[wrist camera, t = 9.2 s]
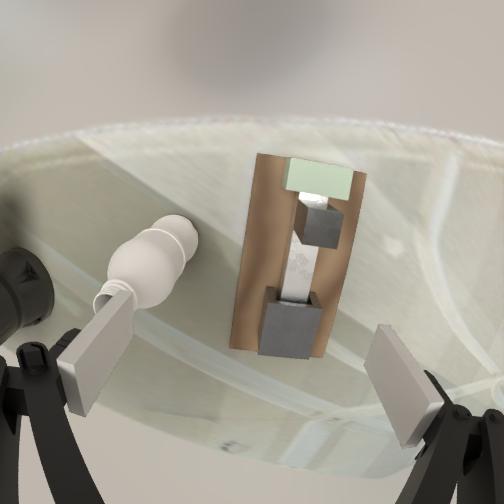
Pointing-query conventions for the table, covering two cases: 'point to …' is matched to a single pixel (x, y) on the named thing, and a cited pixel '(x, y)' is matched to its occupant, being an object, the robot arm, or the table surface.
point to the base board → (274, 247)
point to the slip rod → (307, 244)
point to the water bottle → (150, 263)
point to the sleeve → (288, 326)
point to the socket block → (317, 178)
